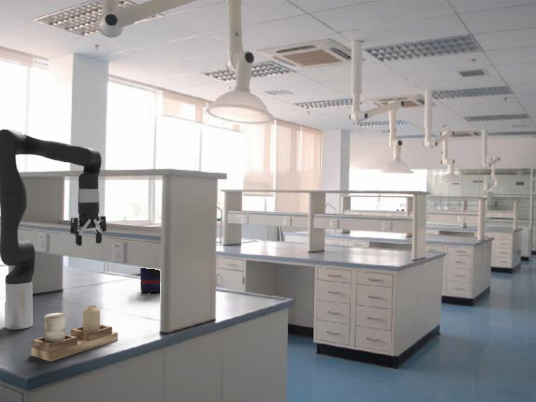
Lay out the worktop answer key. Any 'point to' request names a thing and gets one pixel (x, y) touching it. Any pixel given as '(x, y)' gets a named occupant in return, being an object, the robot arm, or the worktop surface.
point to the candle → (91, 319)
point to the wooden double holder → (68, 339)
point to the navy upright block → (150, 280)
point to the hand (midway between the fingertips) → (89, 244)
